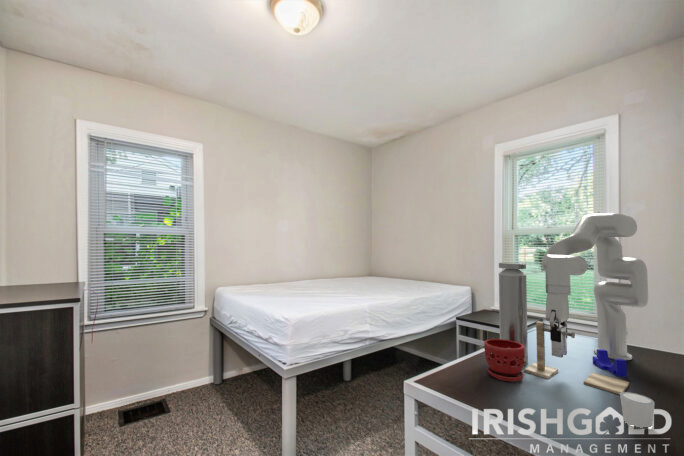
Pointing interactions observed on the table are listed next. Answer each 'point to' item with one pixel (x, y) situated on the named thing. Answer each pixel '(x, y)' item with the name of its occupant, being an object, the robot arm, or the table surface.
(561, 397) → the table surface
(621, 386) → the mat
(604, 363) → the cable clip
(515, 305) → the grey metal bottle
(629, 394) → the shot glass
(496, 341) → the plant pot
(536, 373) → the stand
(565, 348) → the c link
